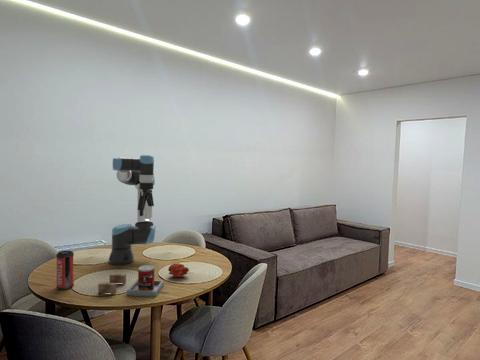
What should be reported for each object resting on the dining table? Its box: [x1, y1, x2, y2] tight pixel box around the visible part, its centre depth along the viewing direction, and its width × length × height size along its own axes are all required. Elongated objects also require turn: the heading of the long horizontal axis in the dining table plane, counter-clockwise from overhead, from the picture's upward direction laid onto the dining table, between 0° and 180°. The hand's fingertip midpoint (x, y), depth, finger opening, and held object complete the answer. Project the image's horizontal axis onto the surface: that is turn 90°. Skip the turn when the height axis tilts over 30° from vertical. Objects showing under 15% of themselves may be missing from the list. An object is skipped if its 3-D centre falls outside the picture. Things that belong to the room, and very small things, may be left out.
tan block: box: [97, 273, 127, 295], centre depth 156 cm, size 8×14×5 cm, turn 178°
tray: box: [126, 279, 165, 298], centre depth 156 cm, size 14×14×2 cm
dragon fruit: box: [167, 262, 190, 279], centre depth 175 cm, size 8×8×12 cm
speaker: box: [55, 250, 75, 291], centre depth 155 cm, size 8×8×18 cm
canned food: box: [137, 264, 155, 291], centre depth 155 cm, size 8×8×11 cm
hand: (145, 219), depth 176 cm, fingers open, 13 cm apart
